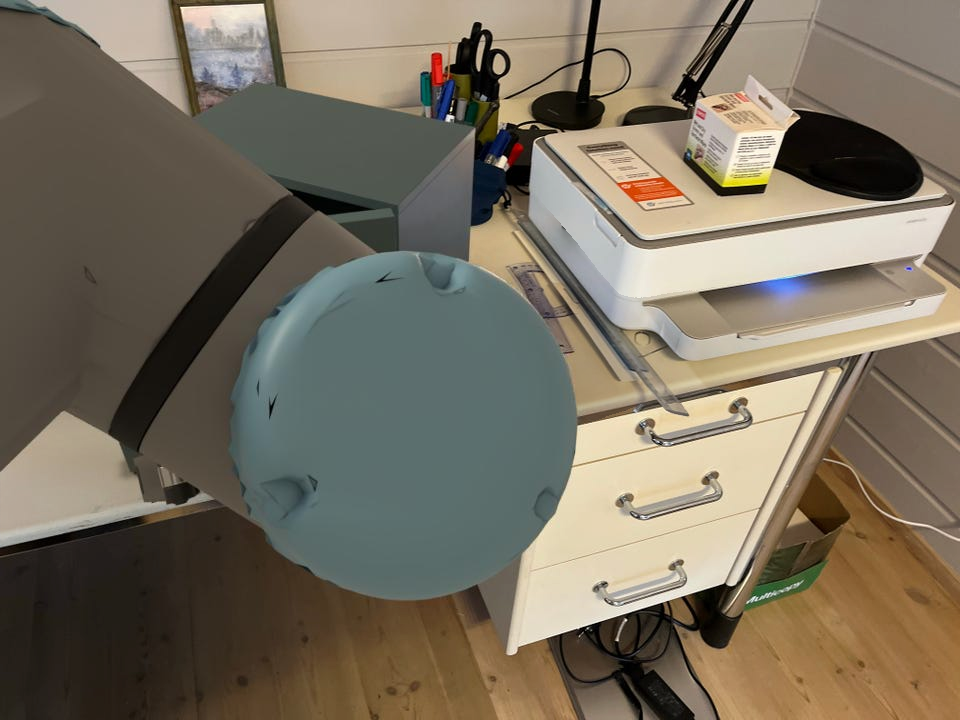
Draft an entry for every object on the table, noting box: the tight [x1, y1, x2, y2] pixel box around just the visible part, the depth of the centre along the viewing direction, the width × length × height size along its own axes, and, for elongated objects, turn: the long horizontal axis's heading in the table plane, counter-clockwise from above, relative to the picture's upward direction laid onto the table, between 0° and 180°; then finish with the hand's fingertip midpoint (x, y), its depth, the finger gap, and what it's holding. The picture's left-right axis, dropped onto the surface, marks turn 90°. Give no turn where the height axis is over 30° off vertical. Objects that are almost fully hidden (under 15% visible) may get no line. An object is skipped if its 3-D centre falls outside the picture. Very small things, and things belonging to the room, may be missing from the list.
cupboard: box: [191, 81, 476, 263], centre depth 81 cm, size 18×26×24 cm
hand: (286, 439), depth 50 cm, fingers open, 10 cm apart
